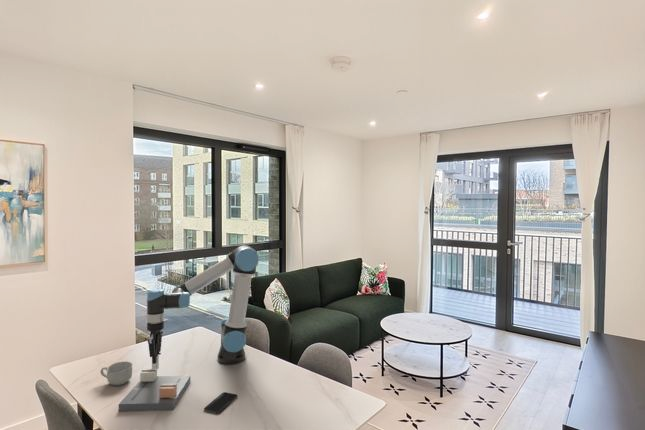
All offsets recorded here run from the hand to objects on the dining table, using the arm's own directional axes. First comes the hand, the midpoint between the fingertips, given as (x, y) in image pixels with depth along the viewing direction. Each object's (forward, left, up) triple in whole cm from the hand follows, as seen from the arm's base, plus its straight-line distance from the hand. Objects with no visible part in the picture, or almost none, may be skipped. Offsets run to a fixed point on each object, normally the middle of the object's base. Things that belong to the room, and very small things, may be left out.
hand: (155, 368), depth 175 cm
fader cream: (0, +8, -1) cm, 8 cm away
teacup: (+17, +3, -5) cm, 18 cm away
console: (-7, +16, -5) cm, 18 cm away
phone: (-37, +24, -6) cm, 44 cm away
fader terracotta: (-14, +23, -1) cm, 27 cm away
